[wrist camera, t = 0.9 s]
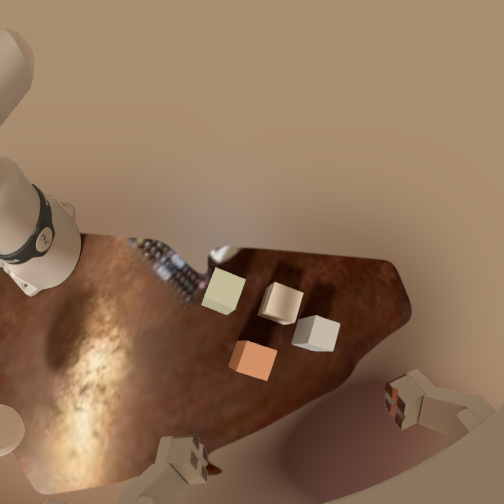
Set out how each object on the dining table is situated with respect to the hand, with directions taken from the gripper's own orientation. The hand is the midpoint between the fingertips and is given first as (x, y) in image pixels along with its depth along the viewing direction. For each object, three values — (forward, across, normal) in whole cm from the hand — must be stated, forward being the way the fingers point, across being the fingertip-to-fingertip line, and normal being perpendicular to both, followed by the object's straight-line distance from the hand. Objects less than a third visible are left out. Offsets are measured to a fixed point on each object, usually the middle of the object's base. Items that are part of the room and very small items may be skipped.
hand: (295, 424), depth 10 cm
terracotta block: (+31, +5, +17) cm, 35 cm away
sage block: (+35, +6, +7) cm, 37 cm away
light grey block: (+34, -6, +18) cm, 39 cm away
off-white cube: (+36, -2, +11) cm, 38 cm away
